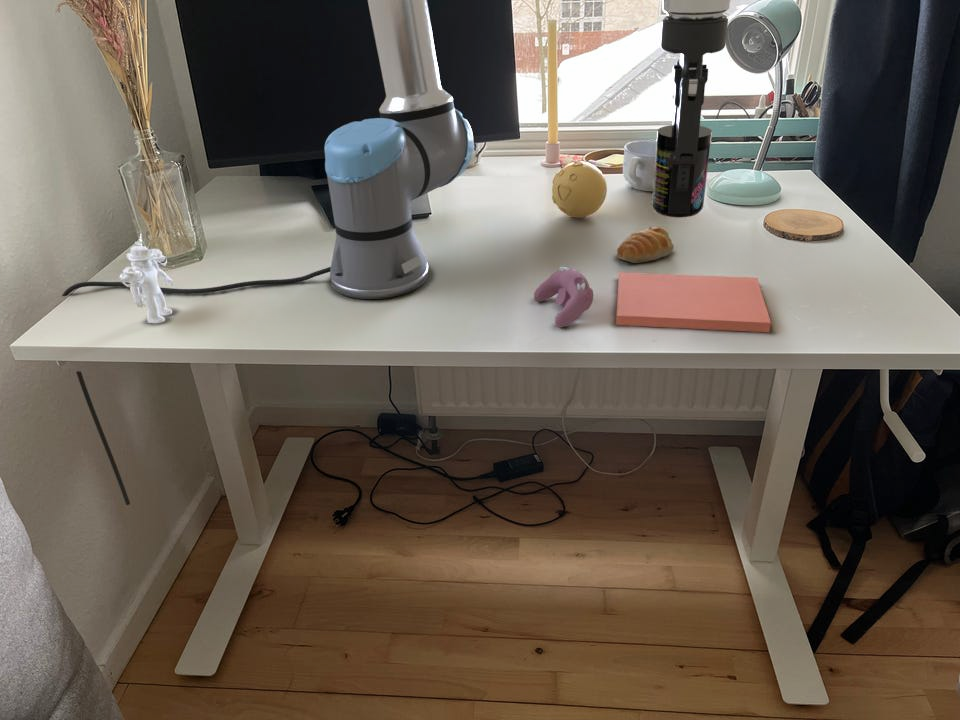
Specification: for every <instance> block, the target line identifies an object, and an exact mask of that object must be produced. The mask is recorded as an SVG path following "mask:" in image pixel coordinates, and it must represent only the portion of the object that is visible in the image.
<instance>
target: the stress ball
mask: <svg viewBox="0 0 960 720" xmlns="http://www.w3.org/2000/svg"><path fill="white" fill-rule="evenodd" d="M607 185H608V184H607V180H606V178H605V176H604V174H603V173H602V171H601V170H600V169H599V168H598V167H597V166H595V165H594V164H592V163H590V162H588V161H586V160H577V161H574V162H570V163H569V164H567V165H565V166H563V167H562V168H561V169H560V170H559V171H558V172H557V173H555V175H554V177H553V179H552V188H551V194H552V195H551V200H552V201H553V204H555V205H556V207H557V209H559V210H560V211H561V212H562V213H563V214H565V215H566V216H569V217H572V218H585V217H588V216H590V215H593V214H595V213H596V212H597V211H598V210H599V209H600V208H601V207H602V205H603V204H604V202H605V200H606V197H607V191H608V186H607Z"/></svg>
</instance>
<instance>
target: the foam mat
mask: <svg viewBox="0 0 960 720" xmlns="http://www.w3.org/2000/svg"><path fill="white" fill-rule="evenodd" d="M615 325H616V326H632V327H648V328H649V327H650V328H668V329H669V328H670V329H688V330H689V329H690V330H691V329H692V330H711V331H712V330H713V331H729V332H730V331H731V332H748V333H749V332H750V333H770V332H771V325H772V321H771V319H770V315H769V311H768V308H767V305H766V301H765V299H764V295H763V291H762V288H761V285H760V282H759V279H758V277H753V276H751V277H748V276H727V275H726V276H724V275H723V276H722V275H696V274H695V275H693V274H673V273H672V274H670V273H646V272H645V273H642V272H618V284H617V301H616V317H615Z"/></svg>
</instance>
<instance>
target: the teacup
mask: <svg viewBox="0 0 960 720" xmlns="http://www.w3.org/2000/svg"><path fill="white" fill-rule="evenodd" d="M656 141H657V140H634V141H630V142H627V143H626V144H625V145H624V146H623V149H624V152H623V161H622V175H623V178H624V180H625V181H626V182H627V183H628V184H629V185H630V186H631V187H632V188H633V189H635V190H638V191H643V192H653V185H654V172H655V159H656V146H657V145H656Z"/></svg>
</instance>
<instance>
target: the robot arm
mask: <svg viewBox="0 0 960 720" xmlns="http://www.w3.org/2000/svg"><path fill="white" fill-rule="evenodd" d="M367 3H368V10H369V16H370V20H371V26H372V31H373V36H374V40H375V41H374V42H375V46H376V51H377V56H378V61H379V66H380V71H381V77H382V82H383V87H384V92H385V97H384V101H383V102H382V103H381V105H380V107H379V108H378V112H379V117H374V118H366V119H365V118H364V119H363V120H360V121H351V122H348V123H347V124H344V125H342V126H340V127H338V128H336V129H335V130H333V131H332V132H331V133H330V134H329V135H328V137H326V139H325V143H324V158H325V161H324V170H325V173H326V178H327V184H328V191H329V196H330V203H331V209H332V215H333V221H334V222H333V223H334V228H335V242H334V248H333V253H332V258H331V264H330V266H328V267H325V268H322V269H319V270H316V271H313V272H311V273H308V274H306V275H303V276H298V277H293V278H283V279H281V278H280V279H260V280H259V279H258V280H249V281H243V282H236V283H231V284H225V285H220V286H219V285H218V286H212V287H205V288H174V287H173V288H172V287H171V288H170V287H161V286H159V287H160V289H161V291H162V293H164V294H165V293H166V294H177V295H178V294H179V295H189V294H191V295H192V294H194V295H195V294H197V295H198V294H208V293H217V292H222V291H227V290H233V289H238V288H239V289H240V288H245V287H253V286H267V285H270V286H271V285H288V284H296V283H302V282H305V281H307V280H311V279H312V278H315V277H319V276H321V275H324V274H327V273H329V276H330V281H331V286H332V288H333V289H334V290H335V291H336V292H337V293H339V294H341V295H343V296H346V297H348V298H355V299H359V300H360V299H362V300H379V299H388V298H389V299H390V298H394V297H397V296H401V295H405V294H407V293H410V292H412V291H415V290H416V289H418V288H420V287H421V286H423V285H424V284H425V283H426V282H427V280H428V278H429V264H428V261H427V258H426V255H425V253H424V251H423V248H422V246H421V244H420V242H419V240H418V237H417V236H416V232H415V231H414V226H413V216H412V205H411V202H412V201H414V200H415V199H418V198H420V197H422V196H424V195H426V194H428V193H430V192H432V191H434V190H437V189H439V188H442V187H445V186H447V185H449V184H450V183H452V182H453V181H454V180H455V179H456V178H459V177H460V176H461V175H462V174H463V173H464V172H465V171H466V170H467V168H468V166H469V165H470V163H471V160H472V157H473V155H474V145H475V144H474V135H473V130H472V128H471V127H472V126H471V125H470V123H469V121H468V119H466V118H464V117H463V113H462V112H461V111H459V110H458V109H456V108H455V104H454V98H453V96H452V95H451V94H450V93H448V91H446V90H445V89H444V88H443V87H442V85H441V79H440V78H441V77H440V71H439V66H438V61H437V55H436V49H435V43H434V36H433V30H432V23H431V18H430V11H429V5H428V0H367ZM730 4H731V0H662V11H663V12H664V13H666V14H667V16H664V18H663V19H662V20H661V34H660V48H661V50H662V51H663V52H666V53H667V54H668V53H669V54H674V55H675V54H680V56H679V57H680V58H677V61H676V63H675V64H673V66H672V83H673V85H672V86H673V87H672V99H673V112H672V123H671V125H677V127H676V141H675V156H674V158H673V160H668V165H672V172H671V184H670V195H669V207H668V214H690V208H691V199H692V189H693V179H694V169H695V164H696V163H697V160H698V157H697V150H698V139H699V128H700V126H701V117H702V106H703V104H704V101H705V88H706V83H707V82H708V78H709V68H707V66H708V65H707V64H703V63H704V55H706V54H715V53H719V52H721V51H722V50H724V49H725V48H726V43H727V33H728V27H729V18H728V16H727V15H725V14H724V13H725V12H727V11H728V10H729V9H730ZM130 283H131V282H127V281H126V283H125V284H130ZM85 287H123V288H128V287H127V286H125V285H124V284H123V283H122V282H121V281H82V282H77V283H74V284H73V285H71V286H69V287H68V288H66V289H65V291H64V292H63V293H62V295H61V297H68V296H69V295H70V294H71V293H72V292H73V291H76V290H78V289H80V288H85ZM75 373H76V376H77V379H78V382H79V385H80V387H81V390H82V393H83V396H84V399H85V402H86V404H87V407H88V409H89V411H90V415H91V417H92V420H93V423H94V425H95V427H96V429H97V432H98V435H99V437H100V440H101V443H102V445H103V447H104V450H105V453H106V455H107V457H108V460H109V463H110V466H111V468H112V471H113V473H114V475H115V479H116V481H117V483H118V486H119V489H120V492H121V494H122V498H123V499H124V503H125V505H126V506H129V505H130V504H131V502H130V499H129V496H128V493H127V490H126V488H125V485H124V481H123V480H122V477H121V474H120V471H119V469H118V466H117V464H116V460H115V458H114V455H113V454H112V453H113V452H112V451H111V448H110V445H109V443H108V440H107V438H106V436H105V433H104V431H103V428H102V424H101V423H100V421H99V418H98V414H97V413H96V410H95V407H94V404H93V402H92V399H91V396H90V394H89V390H88V388H87V385H86V383H85V380H84V375H83V373H82V371H75Z"/></svg>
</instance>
